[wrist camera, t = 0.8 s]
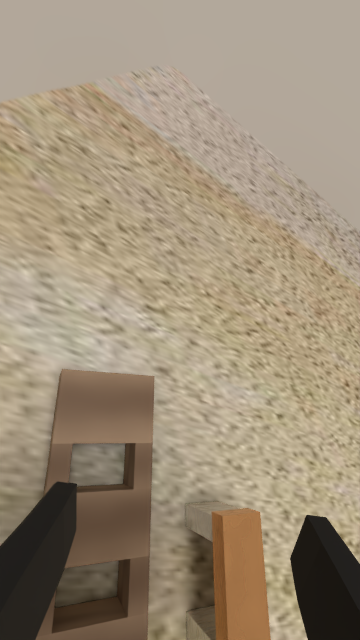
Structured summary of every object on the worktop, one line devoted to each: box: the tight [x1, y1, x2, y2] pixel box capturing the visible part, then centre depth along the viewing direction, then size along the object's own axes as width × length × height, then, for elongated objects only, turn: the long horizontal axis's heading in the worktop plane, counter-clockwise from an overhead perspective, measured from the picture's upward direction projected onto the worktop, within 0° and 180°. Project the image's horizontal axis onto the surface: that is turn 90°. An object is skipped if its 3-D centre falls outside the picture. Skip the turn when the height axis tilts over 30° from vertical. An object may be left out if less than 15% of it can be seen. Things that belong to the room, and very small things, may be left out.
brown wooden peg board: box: [36, 369, 154, 640], centre depth 22 cm, size 20×7×3 cm, turn 0°
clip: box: [185, 501, 270, 640], centre depth 22 cm, size 9×3×6 cm, turn 0°
